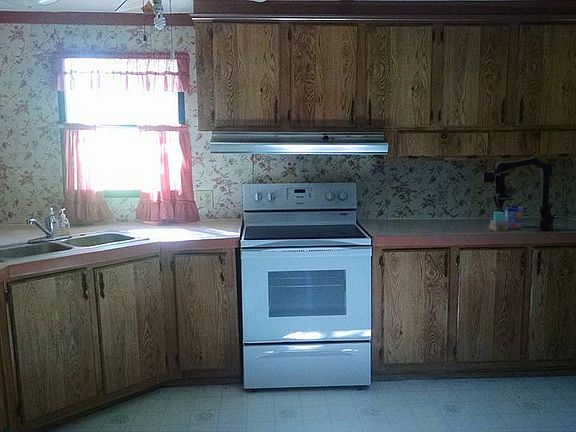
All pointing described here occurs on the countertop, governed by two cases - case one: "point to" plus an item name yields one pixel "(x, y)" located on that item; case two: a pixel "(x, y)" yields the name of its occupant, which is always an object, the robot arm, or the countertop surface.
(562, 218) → the countertop surface
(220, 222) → the countertop surface
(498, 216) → the teal cube
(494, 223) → the tower top
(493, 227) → the tower base
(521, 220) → the ink cartridge box
